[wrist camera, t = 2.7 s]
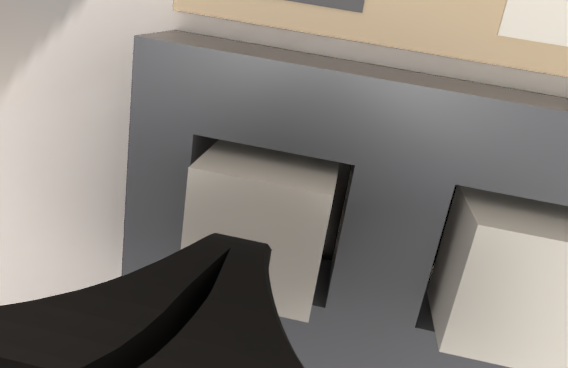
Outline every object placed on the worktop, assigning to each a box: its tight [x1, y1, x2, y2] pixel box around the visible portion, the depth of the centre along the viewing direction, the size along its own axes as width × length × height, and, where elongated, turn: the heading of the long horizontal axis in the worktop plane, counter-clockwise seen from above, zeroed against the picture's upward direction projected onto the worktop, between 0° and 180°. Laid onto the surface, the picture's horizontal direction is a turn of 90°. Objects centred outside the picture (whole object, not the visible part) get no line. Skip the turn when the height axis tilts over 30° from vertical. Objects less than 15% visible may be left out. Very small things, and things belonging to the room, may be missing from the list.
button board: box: [122, 30, 568, 368], centre depth 15 cm, size 9×22×3 cm, turn 82°
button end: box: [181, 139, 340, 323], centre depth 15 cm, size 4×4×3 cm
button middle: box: [427, 185, 568, 368], centre depth 14 cm, size 4×4×3 cm
